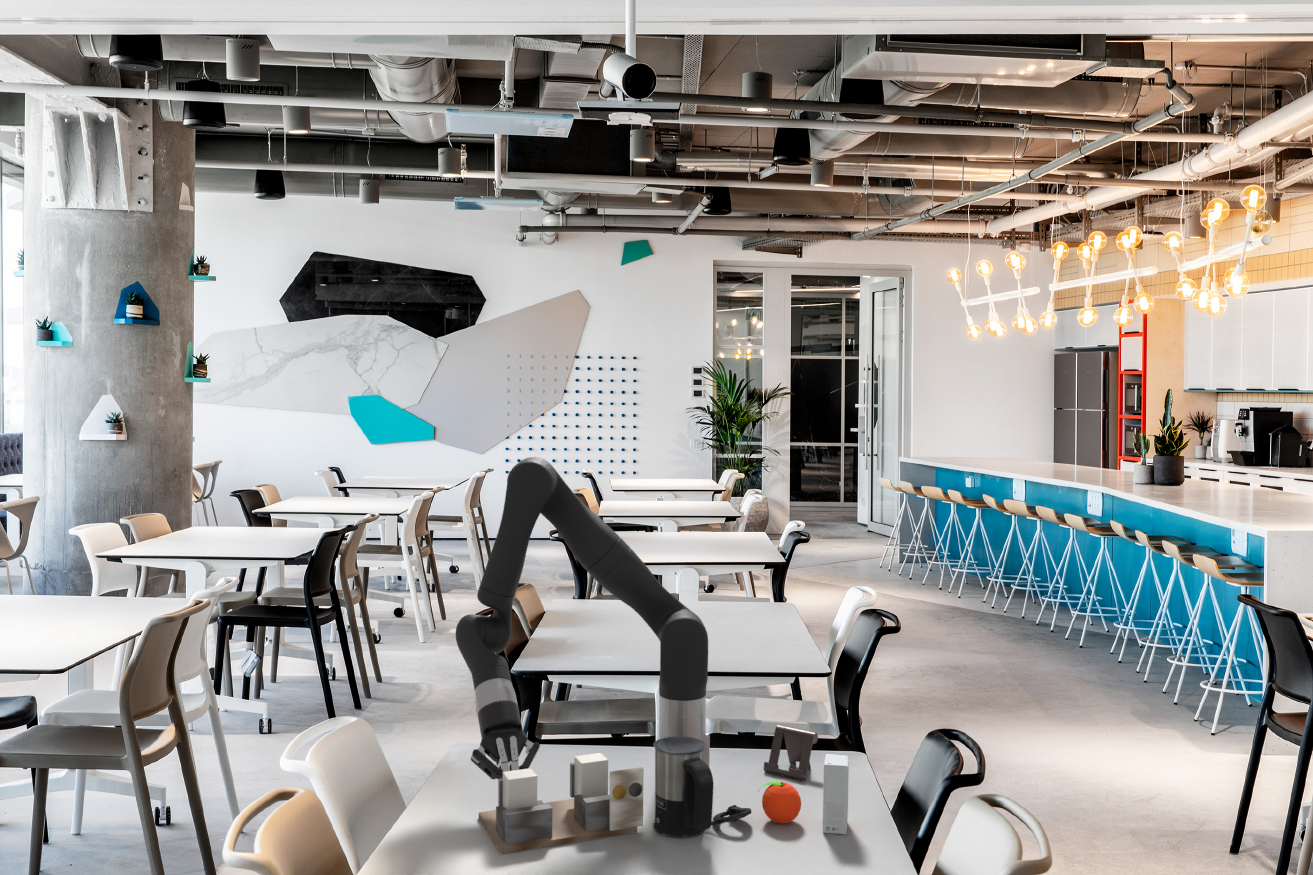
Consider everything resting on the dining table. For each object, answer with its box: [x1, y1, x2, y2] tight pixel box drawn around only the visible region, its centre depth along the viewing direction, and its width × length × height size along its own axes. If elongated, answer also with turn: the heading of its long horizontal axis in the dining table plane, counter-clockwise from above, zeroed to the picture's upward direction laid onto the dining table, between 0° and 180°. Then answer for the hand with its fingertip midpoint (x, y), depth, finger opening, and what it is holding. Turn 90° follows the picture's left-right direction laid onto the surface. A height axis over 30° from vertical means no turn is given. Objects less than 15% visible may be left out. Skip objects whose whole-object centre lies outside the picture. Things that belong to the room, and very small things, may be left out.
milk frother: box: [652, 736, 752, 838], centre depth 180 cm, size 14×16×15 cm
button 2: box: [569, 752, 609, 799], centre depth 185 cm, size 6×5×9 cm
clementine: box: [757, 781, 802, 824], centre depth 182 cm, size 8×7×7 cm
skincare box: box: [822, 753, 850, 836], centre depth 180 cm, size 6×4×12 cm
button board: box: [478, 766, 645, 855], centre depth 180 cm, size 25×16×11 cm, turn 113°
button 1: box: [497, 767, 538, 810], centre depth 176 cm, size 6×5×9 cm
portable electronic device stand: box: [763, 724, 819, 782], centre depth 207 cm, size 9×8×8 cm
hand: (514, 797), depth 179 cm, fingers closed
